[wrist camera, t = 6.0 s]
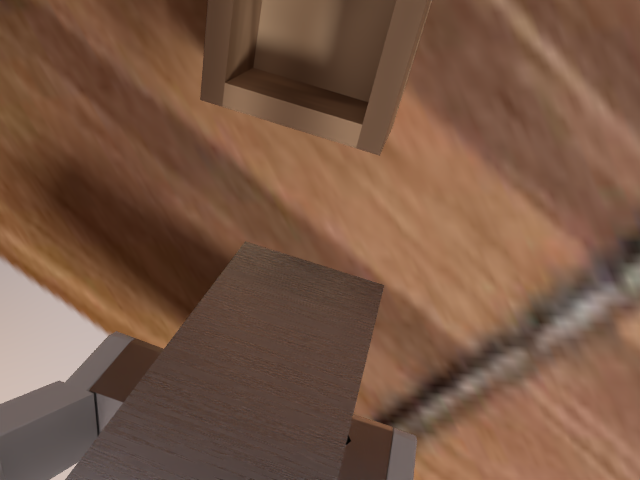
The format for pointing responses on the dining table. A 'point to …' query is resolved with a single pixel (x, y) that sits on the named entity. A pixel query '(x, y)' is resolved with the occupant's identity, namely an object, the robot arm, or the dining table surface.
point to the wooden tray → (314, 63)
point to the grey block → (248, 380)
